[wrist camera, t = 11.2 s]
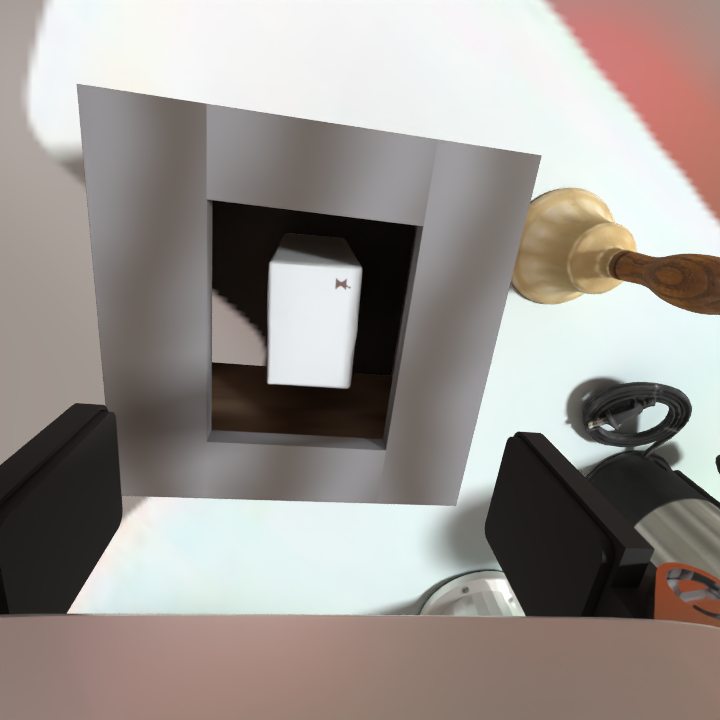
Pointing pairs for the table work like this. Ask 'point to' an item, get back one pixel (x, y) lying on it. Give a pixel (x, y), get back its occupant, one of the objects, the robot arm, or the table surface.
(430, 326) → the slot box
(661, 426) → the milk frother
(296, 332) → the skincare box
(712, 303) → the hand bell
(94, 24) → the table surface
